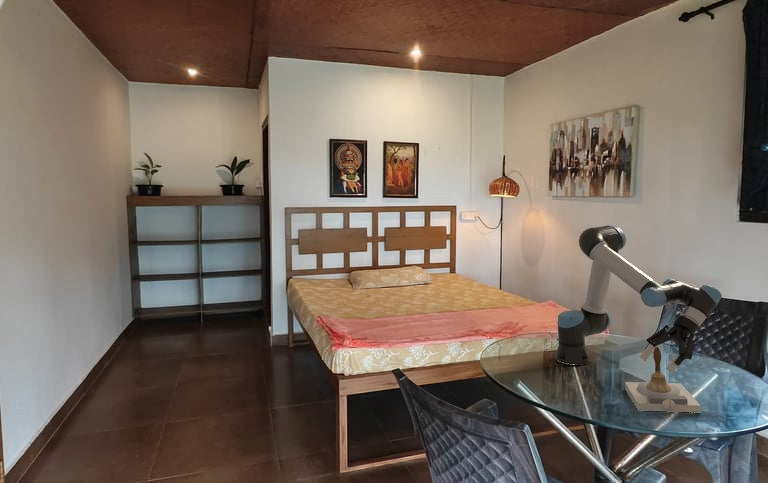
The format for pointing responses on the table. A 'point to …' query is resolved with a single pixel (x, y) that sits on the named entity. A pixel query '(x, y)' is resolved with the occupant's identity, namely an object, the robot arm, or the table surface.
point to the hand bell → (658, 376)
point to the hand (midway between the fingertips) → (655, 364)
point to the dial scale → (662, 398)
